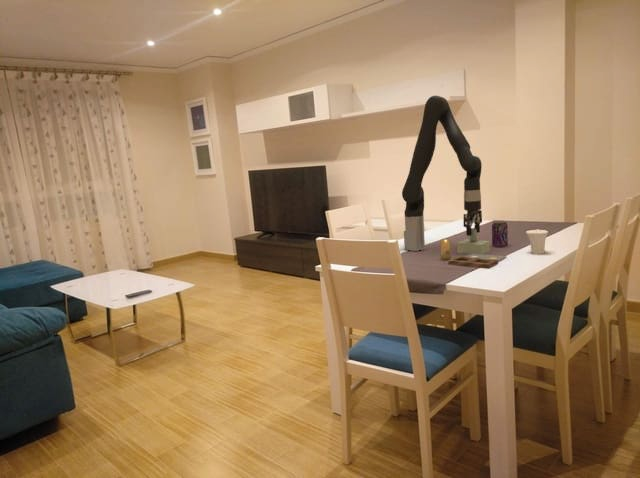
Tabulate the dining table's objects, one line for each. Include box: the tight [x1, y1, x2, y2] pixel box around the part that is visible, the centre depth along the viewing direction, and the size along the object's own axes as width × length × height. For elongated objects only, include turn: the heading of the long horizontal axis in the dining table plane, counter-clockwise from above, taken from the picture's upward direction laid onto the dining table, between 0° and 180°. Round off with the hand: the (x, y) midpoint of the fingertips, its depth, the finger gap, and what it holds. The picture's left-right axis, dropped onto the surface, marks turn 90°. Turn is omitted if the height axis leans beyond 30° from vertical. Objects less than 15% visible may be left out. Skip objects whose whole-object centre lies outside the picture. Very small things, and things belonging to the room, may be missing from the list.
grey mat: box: [464, 253, 508, 263], centre depth 203 cm, size 16×11×1 cm
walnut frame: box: [447, 255, 499, 269], centre depth 195 cm, size 18×9×2 cm, turn 47°
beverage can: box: [491, 220, 509, 248], centre depth 224 cm, size 7×7×12 cm
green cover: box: [456, 228, 491, 255], centre depth 217 cm, size 12×9×11 cm
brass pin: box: [440, 238, 452, 261], centre depth 207 cm, size 4×4×9 cm
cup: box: [525, 228, 549, 255], centre depth 205 cm, size 9×9×10 cm
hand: (473, 234), depth 216 cm, fingers open, 8 cm apart
